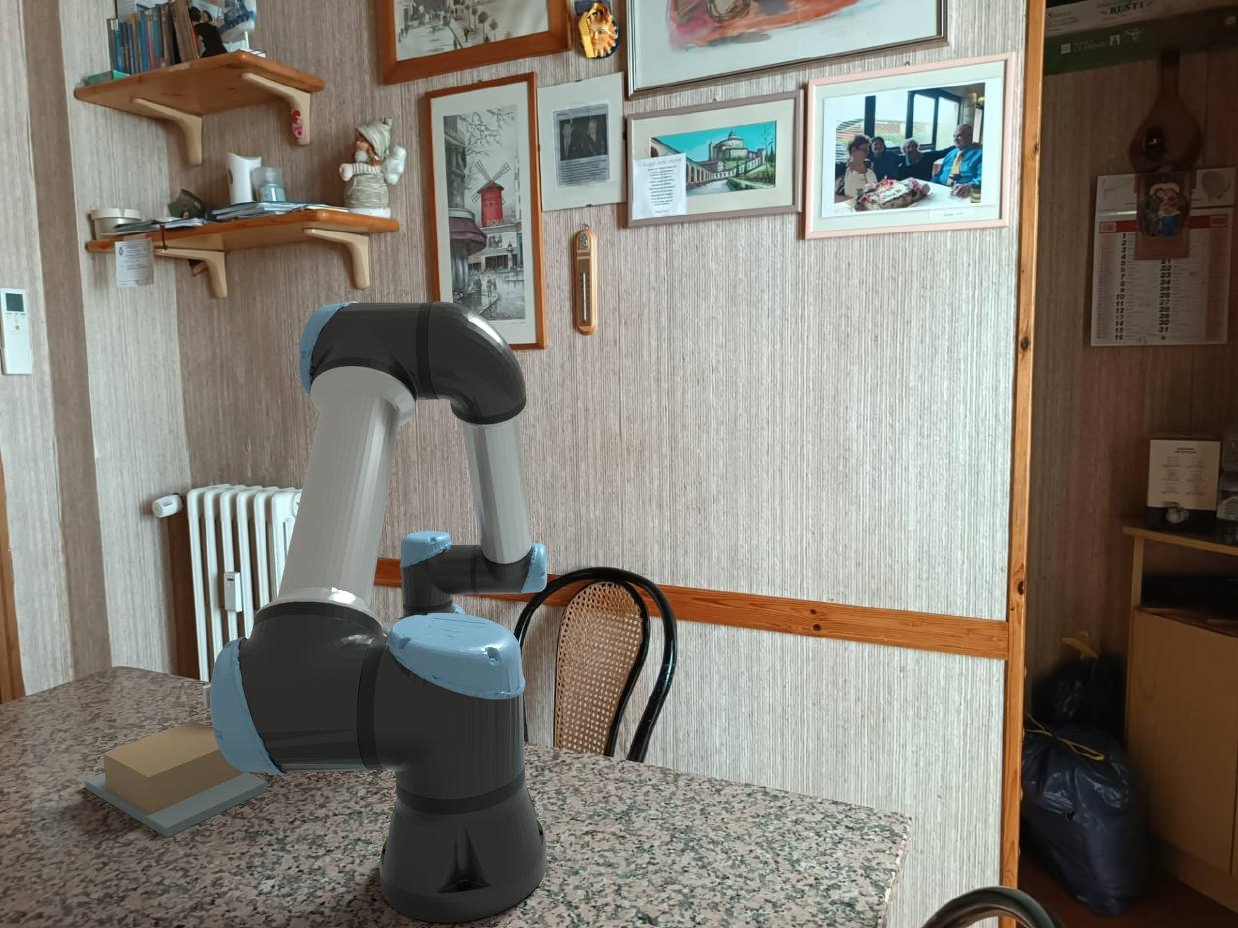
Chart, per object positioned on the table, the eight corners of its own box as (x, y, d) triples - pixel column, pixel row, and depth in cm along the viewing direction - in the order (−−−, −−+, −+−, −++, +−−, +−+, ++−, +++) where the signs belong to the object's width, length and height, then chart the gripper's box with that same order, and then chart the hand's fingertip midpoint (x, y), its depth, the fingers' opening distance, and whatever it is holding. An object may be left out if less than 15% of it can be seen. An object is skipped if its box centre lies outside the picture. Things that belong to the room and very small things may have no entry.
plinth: (268, 790, 89) (265, 747, 88) (166, 837, 80) (163, 790, 79) (183, 750, 99) (180, 711, 98) (85, 788, 90) (81, 745, 89)
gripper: (431, 693, 109) (281, 759, 90) (331, 663, 121) (181, 716, 102) (429, 639, 108) (277, 695, 89) (329, 615, 120) (177, 659, 102)
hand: (226, 706), depth 96 cm, fingers open, 9 cm apart
